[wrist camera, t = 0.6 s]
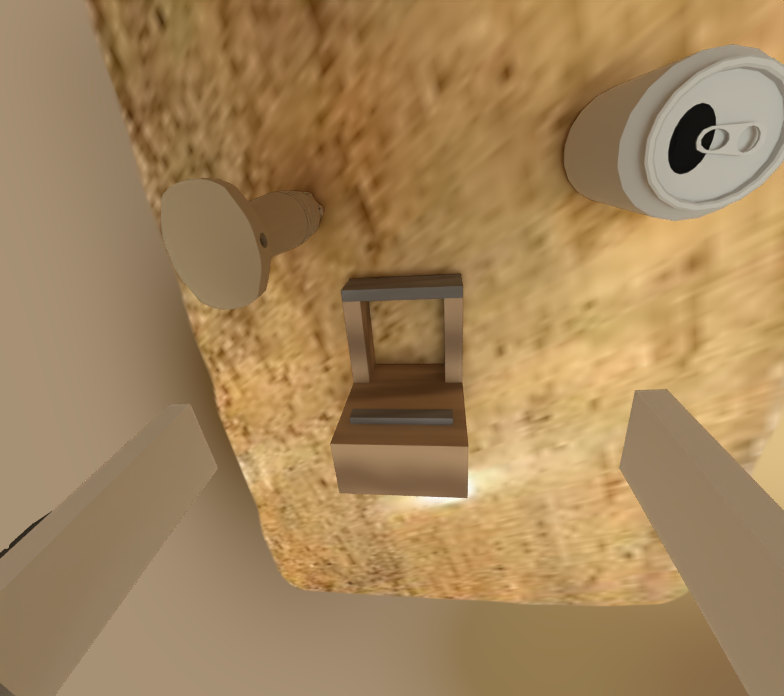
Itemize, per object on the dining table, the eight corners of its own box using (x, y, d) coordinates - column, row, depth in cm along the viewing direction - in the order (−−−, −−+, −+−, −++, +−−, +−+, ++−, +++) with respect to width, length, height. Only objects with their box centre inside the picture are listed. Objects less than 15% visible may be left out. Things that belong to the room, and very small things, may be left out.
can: (571, 85, 26) (662, 35, 15) (687, 83, 25) (866, 29, 15) (551, 200, 30) (613, 224, 19) (652, 202, 29) (777, 227, 18)
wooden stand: (349, 278, 34) (308, 332, 24) (461, 273, 33) (470, 328, 22) (366, 405, 40) (339, 493, 30) (460, 405, 39) (467, 497, 28)
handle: (289, 252, 34) (192, 313, 21) (270, 174, 31) (142, 186, 18) (341, 246, 33) (274, 305, 20) (326, 166, 30) (235, 171, 17)
